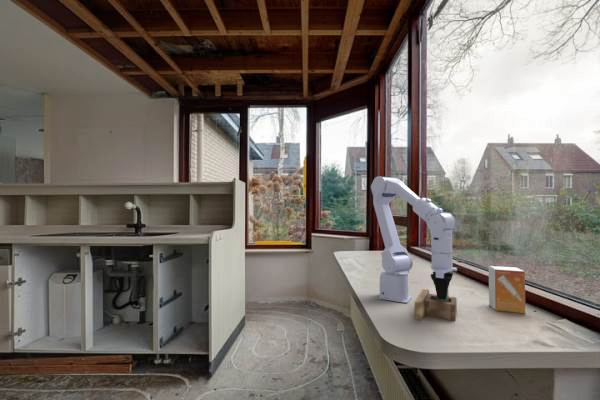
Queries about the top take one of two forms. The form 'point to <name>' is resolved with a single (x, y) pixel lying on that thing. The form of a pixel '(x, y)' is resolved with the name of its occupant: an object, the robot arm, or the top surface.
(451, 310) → the block
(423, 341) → the top surface
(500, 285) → the small box
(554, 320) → the top surface
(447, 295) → the dowel
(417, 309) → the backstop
